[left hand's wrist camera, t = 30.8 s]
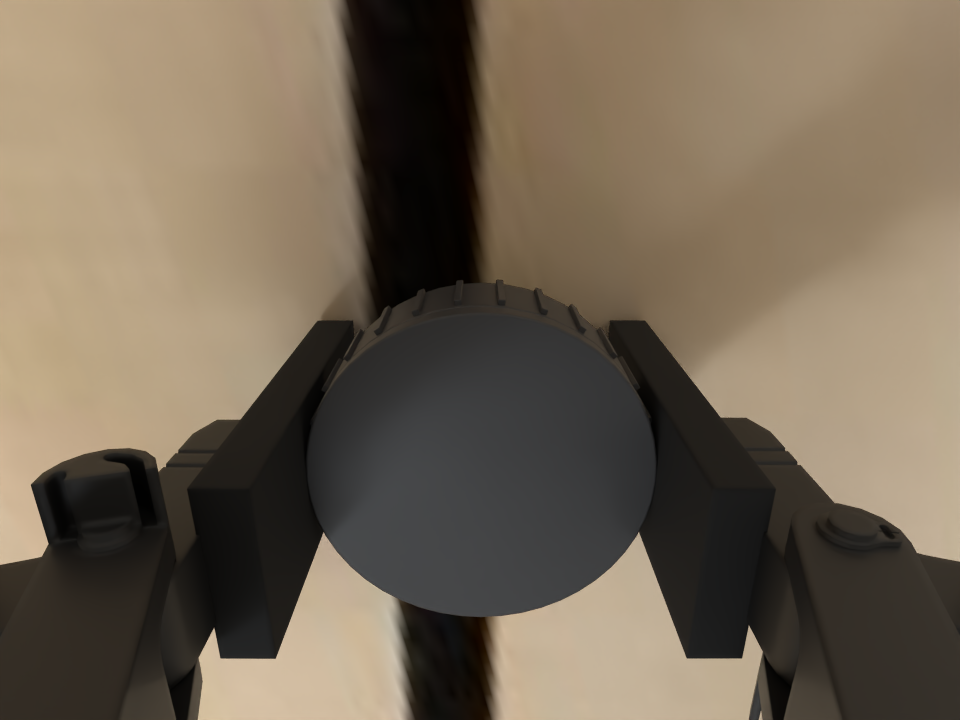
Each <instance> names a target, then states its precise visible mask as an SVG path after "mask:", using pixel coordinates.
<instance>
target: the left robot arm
mask: <svg viewBox="0 0 960 720" xmlns="http://www.w3.org/2000/svg"><path fill="white" fill-rule="evenodd" d="M353 339H354V332H353V321H317V322H316V324H315V325H314V326H313V328H312V329H311V330H310V331H309V333H308V334H307V335H306V337H305V338H304V339H303V340H302V342H301V343H300V344H299V345H298V347H297V348H296V349H295V351H294V352H293V353H292V354H291V356H290V357H289V358H288V360H287V361H286V362H285V363H284V365H283V366H282V367H281V369H280V370H279V371H278V372H277V374H276V375H275V376H274V378H273V379H272V380H271V381H270V383H269V384H268V385H267V387H266V388H265V389H264V390H263V392H262V393H261V394H260V396H259V397H258V398H257V399H256V401H255V402H254V403H253V404H252V406H251V407H250V408H249V410H248V411H247V412H246V413H245V415H244V416H243V417H242V419H241V420H216V421H214V422H213V423H211V424H209V425H207V426H206V427H204V428H202V429H200V430H199V431H197V432H195V433H194V434H192V435H191V437H190V438H189V439H188V440H187V441H186V442H185V443H184V444H183V446H182V447H181V448H180V449H179V450H178V453H175V455H174V456H173V457H172V458H171V459H170V460H169V461H168V462H167V464H166V467H163V468H162V469H161V470H160V471H159V472H158V468H157V464H156V459H155V457H153V456H152V455H150V454H149V453H147V452H146V451H141V450H136V449H130V448H126V449H107V450H102V451H97V452H92V453H88V454H84V455H81V456H78V457H75V458H72V459H70V460H67V461H64V462H62V463H60V464H58V465H56V466H55V467H53V468H51V469H49V470H47V471H46V472H44V473H42V474H41V475H40V476H39V477H38V478H37V479H36V480H35V481H34V482H33V483H32V484H31V487H32V491H33V494H34V497H35V500H36V504H37V507H38V510H39V514H40V517H41V520H42V523H43V527H44V530H45V533H46V537H47V540H48V543H49V544H48V546H47V548H46V550H45V552H44V554H43V556H42V557H39V558H35V559H29V560H24V561H19V562H14V563H8V564H3V565H0V720H198V713H199V705H200V697H201V689H202V682H203V681H202V674H201V667H200V663H199V658H198V657H199V656H200V654H201V652H202V650H203V648H204V646H205V644H206V642H207V640H208V638H209V636H210V634H211V632H212V630H213V629H214V628H215V633H216V638H217V643H218V648H219V653H220V658H248V659H276V656H277V654H278V651H279V648H280V646H281V643H282V641H283V638H284V635H285V633H286V630H287V627H288V625H289V622H290V619H291V617H292V614H293V611H294V609H295V606H296V603H297V601H298V598H299V596H300V593H301V590H302V588H303V585H304V582H305V580H306V577H307V574H308V572H309V569H310V566H311V564H312V561H313V558H314V556H315V553H316V551H317V548H318V545H319V543H320V540H321V537H322V535H323V532H324V531H323V529H322V527H321V525H320V523H319V521H318V520H317V518H316V515H315V512H314V509H313V506H312V503H311V500H310V496H309V491H308V485H307V478H306V451H307V442H308V437H309V433H310V429H311V426H310V421H311V419H312V417H313V415H314V413H315V411H316V409H317V407H318V406H319V404H320V402H321V400H322V398H323V396H324V395H325V392H323V391H322V388H323V386H324V384H325V383H326V381H327V379H328V377H329V375H330V374H331V372H332V370H333V368H334V367H335V365H336V363H337V361H338V359H339V358H340V359H342V360H344V359H343V357H344V356H345V354H346V352H347V350H348V348H349V346H350V345H351V343H352V341H353ZM609 341H610V343H611V345H612V346H613V348H614V350H615V352H616V354H617V355H618V356H617V358H619V357H620V356H622V357H623V359H624V360H625V362H626V364H627V366H628V367H629V369H630V371H631V373H632V374H633V376H634V378H635V380H636V381H637V383H638V385H639V387H640V388H639V389H637V390H636V391H637V393H638V394H639V396H640V398H641V400H642V402H643V403H644V405H645V407H646V409H647V411H648V412H649V414H650V416H651V418H652V423H651V426H652V430H653V434H654V438H655V444H656V454H657V473H656V483H655V489H654V494H653V499H652V502H651V505H650V508H649V510H648V513H647V516H646V519H645V521H644V523H643V525H642V526H641V528H640V530H639V533H640V536H641V538H642V541H643V543H644V546H645V549H646V551H647V554H648V557H649V559H650V562H651V565H652V567H653V570H654V573H655V575H656V578H657V581H658V583H659V586H660V589H661V591H662V594H663V596H664V599H665V602H666V604H667V607H668V610H669V612H670V615H671V618H672V620H673V623H674V626H675V628H676V631H677V634H678V636H679V639H680V641H681V644H682V647H683V649H684V652H685V655H686V657H687V658H742V656H743V651H744V646H745V641H746V636H747V631H748V626H750V628H751V630H752V632H753V633H754V635H755V637H756V639H757V641H758V643H759V645H760V647H761V649H762V651H763V654H762V658H761V663H760V667H759V672H758V677H757V681H756V686H755V691H754V695H753V700H752V704H751V709H750V716H749V720H759V716H760V711H762V719H763V720H960V562H958V561H953V560H947V559H942V558H937V557H932V556H926V555H922V554H918V553H916V551H915V549H914V547H913V545H912V543H911V542H910V541H909V540H908V538H907V537H906V536H905V535H904V534H903V533H902V531H901V530H900V529H898V528H897V527H895V526H894V525H892V524H891V523H889V522H888V521H886V520H885V519H883V518H881V517H879V516H877V515H874V514H872V513H869V512H867V511H865V510H862V509H859V508H855V507H851V506H847V505H843V504H838V503H834V502H833V501H832V500H831V499H830V497H829V496H828V495H827V494H826V493H825V492H824V491H823V490H822V489H821V487H820V486H819V485H818V484H817V483H816V482H815V481H814V480H813V479H812V477H811V476H810V475H809V474H808V473H807V472H806V471H805V470H804V469H803V467H802V466H801V465H797V461H796V460H795V459H794V457H793V456H792V455H791V454H790V453H789V452H788V451H785V447H784V446H783V445H782V444H781V443H780V442H779V441H778V440H777V439H776V437H775V436H774V435H773V434H772V433H771V432H770V431H768V430H766V429H765V428H763V427H761V426H759V425H758V424H756V423H754V422H753V421H751V420H749V419H747V418H721V417H720V416H719V415H718V414H717V412H716V411H715V410H714V408H713V407H712V406H711V405H710V403H709V402H708V401H707V399H706V398H705V397H704V396H703V394H702V393H701V392H700V390H699V389H698V388H697V387H696V385H695V384H694V383H693V382H692V380H691V379H690V378H689V376H688V375H687V374H686V373H685V371H684V370H683V369H682V367H681V366H680V365H679V364H678V362H677V361H676V360H675V358H674V357H673V356H672V355H671V353H670V352H669V351H668V349H667V348H666V347H665V346H664V344H663V343H662V342H661V341H660V339H659V338H658V337H657V335H656V334H655V333H654V332H653V330H652V329H651V328H650V326H649V325H648V324H647V323H646V321H610V329H609Z"/></svg>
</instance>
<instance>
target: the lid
mask: <svg viewBox="0 0 960 720" xmlns="http://www.w3.org/2000/svg"><path fill="white" fill-rule="evenodd" d="M617 356H618V355H617V354H616V352H615V350H614V348H613V346H612V345H611V343H610V341H609V339H608V338H607V336H606V334H605V332H604V331H603V330H602V328H599V329H598V330H596V329H595V328H594V327H593V326H592V325H591V324H590V323H589V322H587V321H586V320H585V319H584V318H583V317H582V316H580V315H579V313H578V311H577V309H576V307H575V306H573V305H572V304H571V305H570V306H569V307H567V306H566V305H564V304H562V303H560V302H558V301H556V300H554V299H552V298H550V297H548V296H546V295H543V293H542V290H541V289H538V288H535V291H531V290H528V289H525V288H520V287H515V286H510V285H505V284H503V280H497V281H496V284H492V283H470V284H463V280H458V281H457V282H456V285H453V286H447V287H442V288H438V289H435V290H432V291H429V292H425V290H424V289H421V290H419V291H418V293H417V296H415V297H413V298H411V299H409V300H407V301H405V302H402V303H400V304H399V305H397V306H396V307H394V308H393V309H391V307H390V306H387V307H386V308H384V310H383V312H382V315H381V317H380V318H378V319H377V320H376V321H375V322H374V323H373V324H372V325H370V326H369V327H368V328H367V329H366V330H365V331H364V332H363V331H362V330H359V331H358V332H357V334H356V335H355V337H354V339H353V341H352V343H351V345H350V346H349V348H348V350H347V352H346V354H345V356H344V357H343V359H344V360H342V359H340V358H339V359H338V361H337V363H336V365H335V367H334V368H333V370H332V372H331V374H330V375H329V377H328V379H327V381H326V383H325V384H324V386H323V388H322V391H323V392H325V395H324V396H323V398H322V400H321V402H320V404H319V406H318V407H317V409H316V411H315V413H314V415H313V417H312V419H311V421H310V426H311V429H310V433H309V437H308V442H307V451H306V478H307V485H308V491H309V496H310V500H311V503H312V506H313V509H314V512H315V515H316V518H317V520H318V521H319V523H320V525H321V527H322V529H323V531H324V533H325V535H326V537H327V538H328V539H329V541H330V542H331V544H332V545H333V547H334V548H335V550H336V551H337V552H338V553H339V554H340V555H341V557H342V558H343V559H344V560H345V561H346V562H347V563H348V564H349V565H350V566H351V567H352V568H353V569H354V570H355V571H356V572H358V573H359V574H360V575H361V576H362V577H363V578H365V579H366V580H367V581H369V582H370V583H372V584H373V585H375V586H376V587H378V588H379V589H381V590H382V591H384V592H386V593H388V594H390V595H392V596H394V597H396V598H398V599H400V600H402V601H405V602H407V603H410V604H413V605H415V606H418V607H421V608H425V609H428V610H432V611H436V612H440V613H446V614H452V615H458V616H474V617H487V616H503V615H510V614H517V613H523V612H526V611H530V610H534V609H538V608H542V607H544V606H547V605H550V604H552V603H555V602H558V601H560V600H562V599H564V598H566V597H568V596H570V595H572V594H574V593H576V592H578V591H580V590H581V589H583V588H584V587H586V586H587V585H589V584H591V583H592V582H594V581H595V580H596V579H598V578H599V577H600V576H601V575H602V574H604V573H605V572H606V571H607V570H608V569H610V568H611V567H612V566H613V565H614V564H615V562H616V561H617V560H618V559H619V558H620V557H621V556H622V555H623V554H624V553H625V551H626V550H627V549H628V547H629V546H630V544H631V543H632V542H633V540H634V539H635V537H636V536H637V534H638V532H639V530H640V528H641V526H642V525H643V523H644V521H645V519H646V516H647V513H648V510H649V508H650V505H651V502H652V499H653V494H654V489H655V483H656V473H657V454H656V444H655V438H654V434H653V430H652V426H651V423H652V418H651V416H650V414H649V412H648V411H647V409H646V407H645V405H644V403H643V402H642V400H641V398H640V396H639V394H638V393H637V391H636V390H637V389H639V388H640V387H639V385H638V383H637V381H636V380H635V378H634V376H633V374H632V373H631V371H630V369H629V367H628V366H627V364H626V362H625V360H624V359H623V357H622V356H620V357H619V358H617Z"/></svg>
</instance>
